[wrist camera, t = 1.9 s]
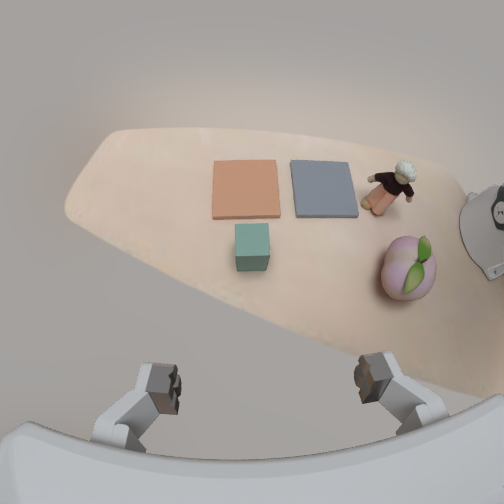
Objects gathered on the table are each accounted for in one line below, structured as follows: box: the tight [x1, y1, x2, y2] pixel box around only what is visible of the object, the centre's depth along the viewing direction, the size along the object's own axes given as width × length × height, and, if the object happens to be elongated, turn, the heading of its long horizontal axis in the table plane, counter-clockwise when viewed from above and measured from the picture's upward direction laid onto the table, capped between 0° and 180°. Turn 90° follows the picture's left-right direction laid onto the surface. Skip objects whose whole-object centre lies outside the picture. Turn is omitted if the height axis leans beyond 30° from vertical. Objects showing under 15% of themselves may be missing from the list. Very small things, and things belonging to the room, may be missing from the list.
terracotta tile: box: [212, 160, 281, 219], centre depth 43 cm, size 10×10×1 cm
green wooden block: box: [235, 223, 270, 271], centre depth 37 cm, size 4×4×8 cm
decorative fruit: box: [381, 236, 436, 301], centre depth 35 cm, size 9×8×10 cm
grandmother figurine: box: [361, 160, 416, 216], centre depth 37 cm, size 8×4×13 cm, turn 76°
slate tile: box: [290, 160, 359, 218], centre depth 44 cm, size 10×10×1 cm
